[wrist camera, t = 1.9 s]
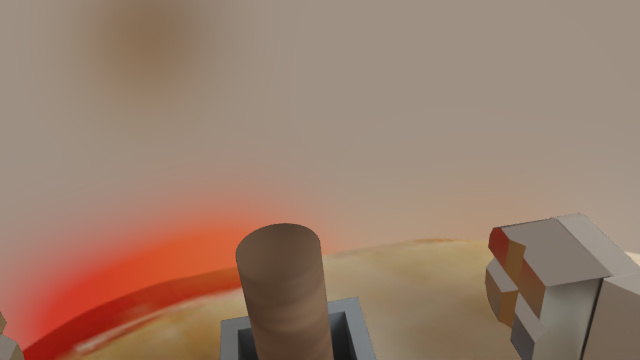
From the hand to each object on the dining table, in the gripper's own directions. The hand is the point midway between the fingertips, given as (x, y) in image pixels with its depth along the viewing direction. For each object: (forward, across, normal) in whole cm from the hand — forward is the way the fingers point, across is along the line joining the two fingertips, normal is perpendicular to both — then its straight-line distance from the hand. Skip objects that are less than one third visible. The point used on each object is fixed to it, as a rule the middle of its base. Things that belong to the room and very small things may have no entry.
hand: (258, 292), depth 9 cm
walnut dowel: (+13, 0, +25) cm, 28 cm away
